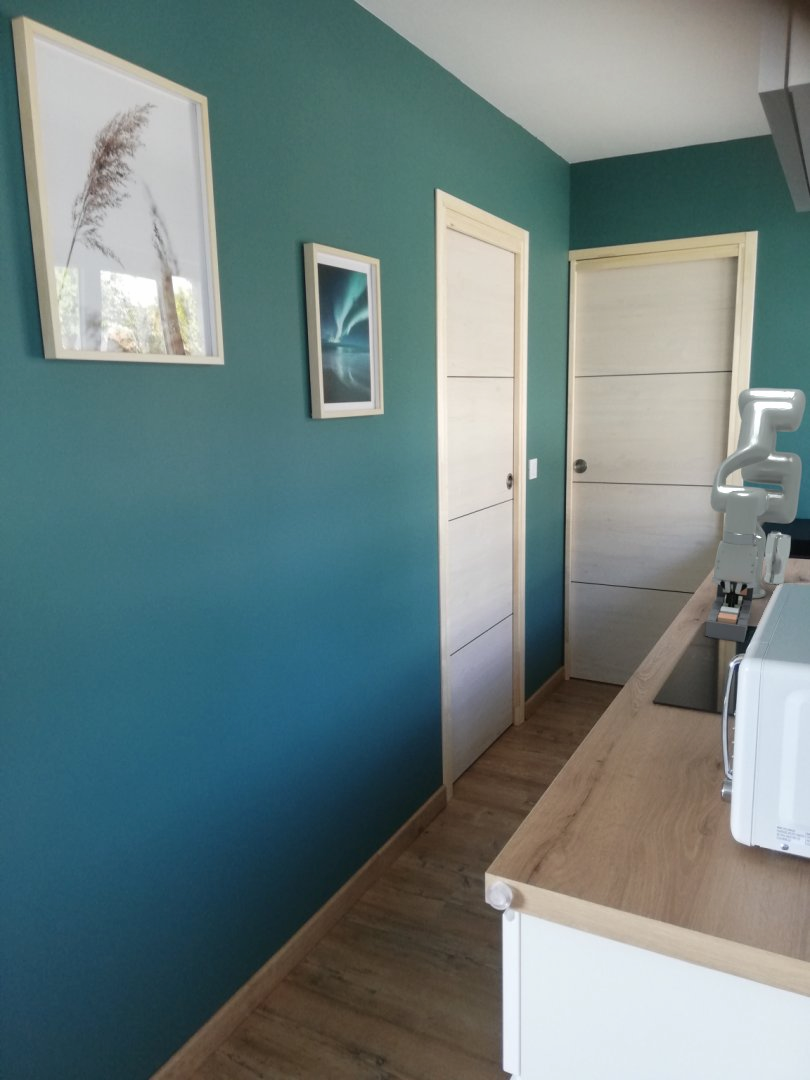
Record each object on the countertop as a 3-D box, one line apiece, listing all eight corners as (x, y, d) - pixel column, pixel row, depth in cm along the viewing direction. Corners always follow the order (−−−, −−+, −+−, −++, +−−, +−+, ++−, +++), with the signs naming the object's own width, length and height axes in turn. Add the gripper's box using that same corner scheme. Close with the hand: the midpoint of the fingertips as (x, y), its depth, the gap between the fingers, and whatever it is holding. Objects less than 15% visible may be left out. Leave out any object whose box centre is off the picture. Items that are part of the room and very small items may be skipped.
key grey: (721, 612, 209) (721, 606, 208) (738, 614, 207) (739, 608, 206) (719, 616, 205) (720, 610, 205) (737, 618, 203) (737, 612, 203)
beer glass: (788, 586, 248) (794, 538, 244) (764, 584, 249) (769, 537, 246) (782, 580, 254) (788, 534, 251) (759, 578, 256) (764, 532, 252)
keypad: (715, 608, 224) (719, 576, 222) (750, 612, 220) (754, 581, 218) (705, 636, 200) (708, 601, 198) (743, 642, 196) (747, 607, 194)
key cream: (725, 599, 220) (725, 594, 219) (741, 602, 218) (742, 596, 217) (723, 603, 216) (724, 598, 215) (740, 606, 214) (741, 600, 214)
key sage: (722, 608, 214) (723, 603, 214) (739, 611, 212) (740, 605, 212) (721, 613, 211) (722, 607, 210) (738, 615, 209) (739, 609, 208)
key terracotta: (718, 618, 203) (719, 612, 203) (736, 621, 201) (737, 615, 201) (717, 623, 200) (717, 617, 199) (735, 625, 198) (736, 619, 197)
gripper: (770, 539, 207) (762, 607, 211) (709, 532, 214) (702, 599, 217) (769, 544, 201) (761, 614, 205) (706, 538, 207) (699, 606, 211)
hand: (731, 606), depth 211 cm, fingers closed
